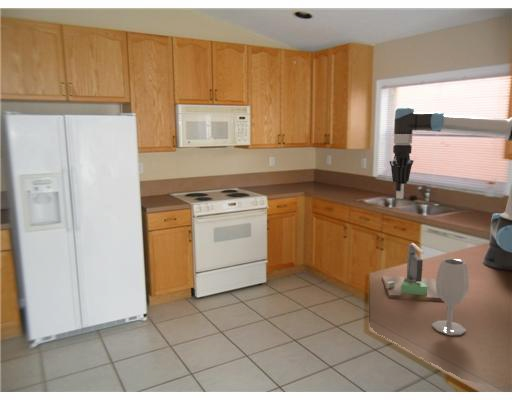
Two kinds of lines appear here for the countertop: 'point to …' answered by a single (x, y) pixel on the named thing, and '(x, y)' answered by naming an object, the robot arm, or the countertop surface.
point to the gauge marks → (410, 287)
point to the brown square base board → (396, 293)
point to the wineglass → (451, 292)
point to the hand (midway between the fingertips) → (399, 198)
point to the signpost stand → (414, 264)
